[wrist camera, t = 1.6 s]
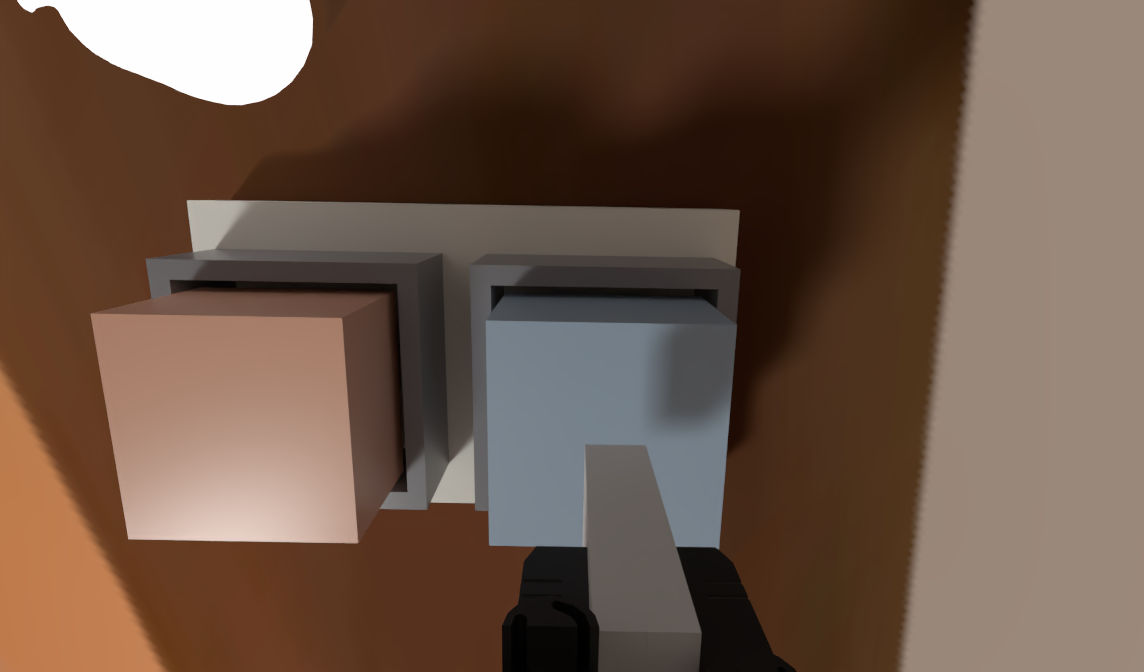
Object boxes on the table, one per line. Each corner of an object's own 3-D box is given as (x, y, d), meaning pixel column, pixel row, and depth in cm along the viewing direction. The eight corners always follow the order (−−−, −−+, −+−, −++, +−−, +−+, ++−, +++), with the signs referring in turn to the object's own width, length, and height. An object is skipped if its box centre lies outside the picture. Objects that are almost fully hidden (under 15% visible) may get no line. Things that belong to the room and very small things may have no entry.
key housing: (229, 200, 27) (110, 200, 20) (721, 208, 27) (772, 212, 20) (258, 468, 30) (164, 550, 23) (702, 476, 30) (740, 560, 23)
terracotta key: (200, 287, 21) (90, 313, 17) (394, 290, 21) (342, 318, 17) (222, 466, 23) (128, 539, 18) (403, 470, 23) (358, 543, 18)
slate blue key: (505, 292, 21) (485, 320, 17) (700, 296, 21) (736, 324, 17) (507, 472, 23) (489, 545, 18) (688, 475, 23) (718, 549, 18)
